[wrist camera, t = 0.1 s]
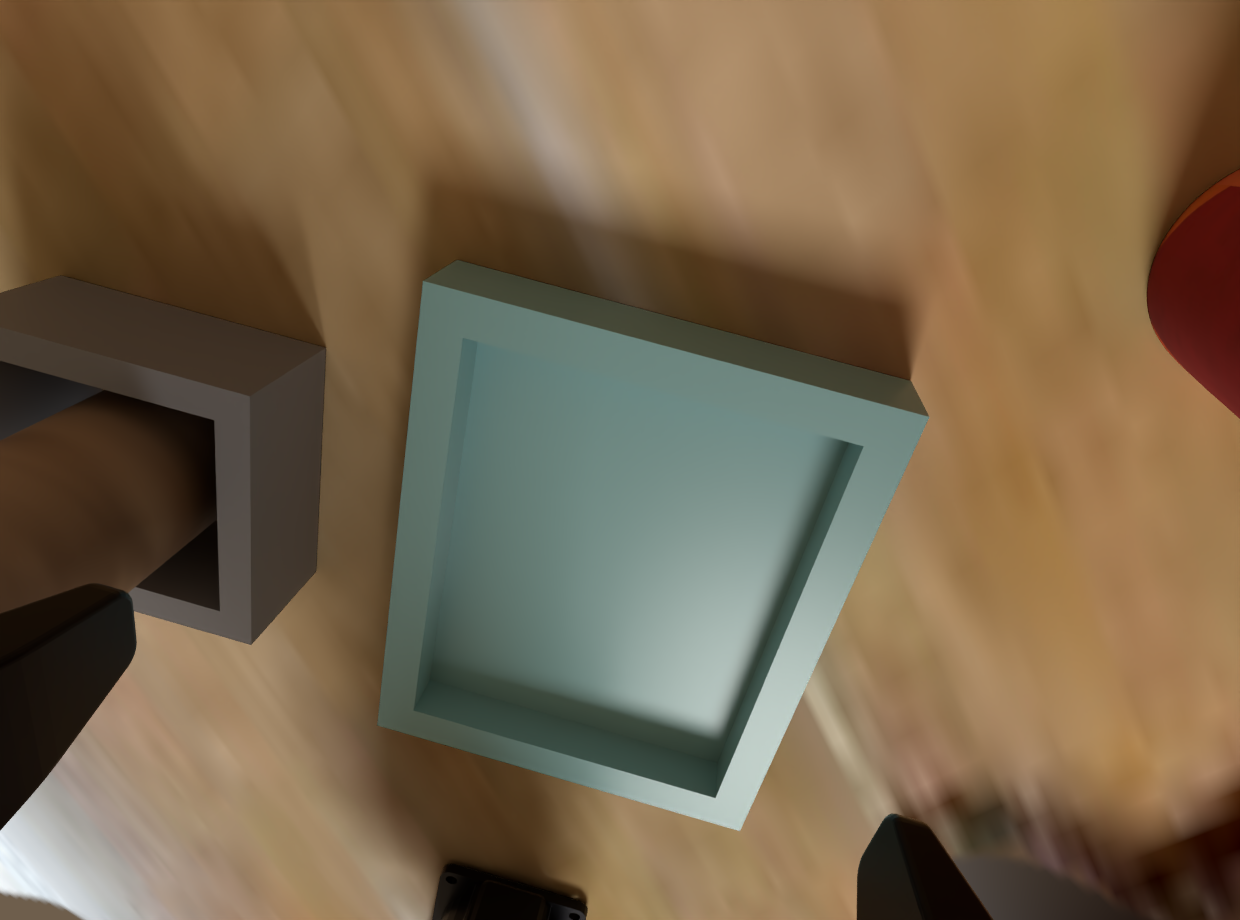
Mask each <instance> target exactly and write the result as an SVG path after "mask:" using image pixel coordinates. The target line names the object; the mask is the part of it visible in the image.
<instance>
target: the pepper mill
mask: <svg viewBox="0 0 1240 920" xmlns="http://www.w3.org/2000/svg"><path fill="white" fill-rule="evenodd" d="M216 520H217V493H216V460H215V426H214V420H212V419H208V418H204V417H201V416H197V415H194V414H190V413H186V412H183V411H179V410H176V409H172V408H168V407H165V406H161V405H158V404H154V403H150V402H147V401H143V400H140V399H136V398H133V397H129V396H125V395H122V394H118V393H115V392H111V391H107V390H103V391H101V392H99V393H97V394H95V395H93V396H91V397H89V398H87V399H85V400H83V401H81V402H79V403H76V404H74V405H72V406H70V407H68V408H66V409H64V410H62V411H60V412H58V413H56V414H54V415H52V416H50V417H48V418H46V419H43V420H41V421H39V422H37V423H35V424H33V425H31V426H29V427H27V428H25V429H23V430H21V431H19V432H17V433H15V434H13V435H11V436H8V437H6V438H4V439H2V440H0V613H2V612H5V611H8V610H11V609H14V608H17V607H20V606H23V605H26V604H29V603H32V602H35V601H38V600H41V599H44V598H47V597H50V596H53V595H56V594H59V593H62V592H65V591H68V590H71V589H74V588H77V587H80V586H83V585H86V584H91V583H99V584H103V585H106V586H110V587H113V588H117V589H120V590H124V591H126V592H127V593H129V592H130V591H131V590H132V589H133V588H135V587H136V586H137V585H138V584H139V583H141V582H142V581H143V580H144V579H146V578H147V577H148V576H149V575H150V574H152V573H153V572H154V571H155V570H156V569H158V568H159V567H160V566H161V565H162V564H164V563H165V562H166V561H167V560H168V559H170V558H171V557H172V556H173V555H175V554H176V553H177V552H178V551H179V550H181V549H182V548H183V547H184V546H185V545H187V544H188V543H189V542H190V541H191V540H193V539H194V538H195V537H196V536H198V535H199V534H200V533H201V532H202V531H204V530H205V529H206V528H207V527H208V526H210V525H211V524H212V523H213V522H214V521H216Z"/></svg>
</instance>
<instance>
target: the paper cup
mask: <svg viewBox="0 0 1240 920" xmlns="http://www.w3.org/2000/svg"><path fill="white" fill-rule="evenodd" d="M1147 306H1148V312H1149V317H1150V321H1151V324H1152V326H1153V329H1154V331H1155V333H1156V335H1157V337H1158V338H1159V340H1160V342H1161V343H1162V344H1163V346H1164V347H1165V349H1166V350H1167V351H1168V352H1169V353H1170V354H1171V355H1172V357H1173V358H1174V359H1175V360H1176V361H1177V362H1178V363H1179V364H1180V365H1181V366H1182V367H1183V368H1184V369H1185V370H1186V371H1188V372H1189V373H1190V374H1191V375H1192V376H1193V377H1194V378H1195V379H1196V380H1197V381H1198V382H1199V383H1200V384H1201V385H1203V386H1204V387H1205V388H1206V389H1207V390H1208V391H1209V392H1210V393H1211V394H1213V395H1214V396H1215V397H1216V398H1217V399H1218V400H1219V401H1220V402H1222V403H1223V404H1224V405H1225V406H1226V407H1227V408H1228V409H1229V410H1231V411H1232V412H1233V413H1234V414H1235V415H1236V416H1237V417H1238V418H1240V169H1239V170H1237V171H1235V172H1233V173H1231V174H1230V175H1228V176H1226V177H1225V178H1223V179H1222V180H1220V181H1219V182H1217V183H1216V184H1214V185H1213V186H1212V187H1210V188H1209V189H1208V190H1206V191H1205V192H1204V193H1203V194H1202V195H1200V196H1199V197H1198V198H1197V199H1196V200H1195V201H1194V202H1193V203H1192V204H1191V205H1190V206H1189V207H1188V208H1187V209H1186V210H1185V211H1184V212H1183V213H1182V214H1181V215H1180V217H1179V218H1178V219H1177V220H1176V222H1175V223H1174V224H1173V226H1172V227H1171V229H1170V230H1169V231H1168V233H1167V235H1166V236H1165V238H1164V240H1163V241H1162V243H1161V245H1160V247H1159V249H1158V251H1157V254H1156V256H1155V258H1154V261H1153V264H1152V267H1151V271H1150V275H1149V280H1148V287H1147Z"/></svg>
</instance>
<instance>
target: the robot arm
mask: <svg viewBox="0 0 1240 920" xmlns="http://www.w3.org/2000/svg"><path fill="white" fill-rule="evenodd" d="M136 643H137V641H136V630H135V620H134V610H133V601H132V598H131V596H130V595H129V593H127V592H126V591H124V590H120V589H117V588H113V587H110V586H106V585H103V584H99V583H91V584H86V585H83V586H80V587H77V588H74V589H71V590H68V591H65V592H62V593H59V594H56V595H53V596H50V597H47V598H44V599H41V600H38V601H35V602H32V603H29V604H26V605H23V606H20V607H17V608H14V609H11V610H8V611H5V612H2V613H0V830H1V829H2V828H3V827H4V826H5V825H6V823H7V822H8V821H9V820H10V819H11V818H12V817H13V816H14V814H15V813H16V812H17V811H18V810H19V809H20V808H21V806H22V805H23V804H24V803H25V802H26V801H27V800H28V799H29V797H30V796H31V795H32V794H33V793H34V791H35V790H36V789H37V788H38V787H39V786H40V784H41V783H42V782H43V781H44V780H45V778H46V777H47V776H48V775H49V773H50V772H51V771H52V769H53V768H54V767H55V766H56V764H57V763H58V762H59V760H60V759H61V758H62V756H63V755H64V754H65V752H66V751H67V749H68V748H69V747H70V745H71V744H72V743H73V741H74V740H75V738H76V737H77V736H78V734H79V733H80V732H81V730H82V729H83V728H84V726H85V725H86V723H87V722H88V721H89V719H90V718H91V717H92V715H93V714H94V712H95V711H96V710H97V708H98V707H99V706H100V704H101V703H102V702H103V700H104V699H105V697H106V696H107V695H108V693H109V692H110V691H111V689H112V688H113V687H114V685H115V684H116V682H117V681H118V680H119V678H120V677H121V676H122V674H123V673H124V671H125V670H126V669H127V667H128V666H129V664H130V663H131V661H132V659H133V657H134V654H135V650H136ZM587 911H588V908H587V906H586V905H585V904H584V903H582V902H580V901H577V900H574V899H570V898H567V897H564V896H560V895H557V894H554V893H550V892H547V891H544V890H540V889H537V888H533V887H530V886H527V885H523V884H520V883H517V882H513V881H510V880H507V879H503V878H500V877H496V876H493V875H490V874H486V873H483V872H480V871H476V870H473V869H469V868H466V867H463V866H459V865H456V864H447V865H445V866H444V868H443V871H442V873H441V876H440V881H439V886H438V892H437V897H436V903H435V908H434V914H433V919H432V920H586V916H587ZM857 920H993V918H992V917H991V915H990V914H989V912H988V911H987V910H986V908H985V907H984V905H983V904H982V902H981V901H980V899H979V898H978V896H977V895H976V893H975V892H974V891H973V889H972V888H971V886H970V885H969V883H968V882H967V880H966V879H965V877H964V876H963V875H962V873H961V872H960V870H959V869H958V867H957V866H956V864H955V863H954V861H953V860H952V858H951V857H950V855H949V854H948V853H947V851H946V850H945V848H944V847H943V845H942V844H941V842H940V841H939V839H938V838H937V836H936V835H935V834H934V832H933V831H932V829H931V828H930V827H929V826H928V825H927V824H925V823H924V822H922V821H919V820H916V819H912V818H909V817H905V816H902V815H898V814H890V815H888V816H886V817H885V819H884V820H883V821H882V823H881V825H880V826H879V828H878V830H877V832H876V833H875V835H874V837H873V838H872V840H871V842H870V843H869V845H868V847H867V849H866V850H865V852H864V854H863V856H862V858H861V861H860V864H859V868H858V875H857Z"/></svg>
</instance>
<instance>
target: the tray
mask: <svg viewBox="0 0 1240 920" xmlns="http://www.w3.org/2000/svg"><path fill="white" fill-rule="evenodd" d="M928 419H929V415H928V413H927V411H926V409H925V407H924V405H923V404H922V402H921V400H920V398H919V396H918V394H917V392H916V390H915V388H914V386H913V384H912V382H911V381H909V380H905V379H901V378H898V377H894V376H890V375H886V374H883V373H879V372H875V371H871V370H868V369H864V368H860V367H856V366H853V365H849V364H845V363H841V362H838V361H834V360H830V359H826V358H823V357H819V356H815V355H811V354H808V353H804V352H800V351H796V350H793V349H789V348H785V347H782V346H778V345H774V344H770V343H767V342H763V341H759V340H755V339H752V338H748V337H744V336H740V335H737V334H733V333H729V332H725V331H722V330H718V329H714V328H710V327H707V326H703V325H699V324H695V323H692V322H688V321H684V320H680V319H677V318H673V317H669V316H665V315H662V314H658V313H654V312H650V311H647V310H643V309H639V308H636V307H632V306H628V305H624V304H621V303H617V302H613V301H609V300H606V299H602V298H598V297H594V296H591V295H587V294H583V293H579V292H576V291H572V290H568V289H564V288H561V287H557V286H553V285H549V284H546V283H542V282H538V281H534V280H531V279H527V278H523V277H519V276H516V275H512V274H508V273H504V272H501V271H497V270H493V269H490V268H486V267H482V266H478V265H475V264H471V263H467V262H463V261H460V260H456V261H454V262H453V263H451V264H449V265H448V266H446V267H445V268H443V269H441V270H440V271H438V272H437V273H435V274H433V275H432V276H430V277H429V278H427V279H425V280H424V281H423V286H422V296H421V305H420V315H419V325H418V335H417V344H416V354H415V364H414V373H413V383H412V393H411V403H410V412H409V422H408V432H407V441H406V451H405V461H404V471H403V480H402V490H401V500H400V509H399V519H398V529H397V539H396V548H395V558H394V568H393V577H392V587H391V597H390V607H389V616H388V626H387V636H386V646H385V655H384V665H383V675H382V684H381V694H380V704H379V714H378V723H377V725H378V726H381V727H385V728H388V729H391V730H395V731H398V732H402V733H405V734H409V735H412V736H415V737H419V738H422V739H426V740H429V741H433V742H436V743H439V744H443V745H446V746H450V747H453V748H457V749H460V750H463V751H467V752H470V753H474V754H477V755H481V756H484V757H487V758H491V759H494V760H498V761H501V762H505V763H508V764H512V765H515V766H518V767H522V768H525V769H529V770H532V771H536V772H539V773H542V774H546V775H549V776H553V777H556V778H560V779H563V780H566V781H570V782H573V783H577V784H580V785H584V786H587V787H590V788H594V789H597V790H601V791H604V792H608V793H611V794H614V795H618V796H621V797H625V798H628V799H632V800H635V801H638V802H642V803H645V804H649V805H652V806H656V807H659V808H662V809H666V810H669V811H673V812H676V813H680V814H683V815H687V816H690V817H693V818H697V819H700V820H704V821H707V822H711V823H714V824H717V825H721V826H724V827H728V828H731V829H735V830H738V831H740V830H741V827H742V825H743V823H744V821H745V819H746V817H747V814H748V812H749V810H750V808H751V806H752V803H753V801H754V799H755V797H756V795H757V792H758V790H759V788H760V786H761V784H762V782H763V779H764V777H765V775H766V773H767V771H768V768H769V766H770V764H771V762H772V760H773V758H774V755H775V753H776V751H777V749H778V747H779V744H780V742H781V740H782V738H783V736H784V733H785V731H786V729H787V727H788V725H789V723H790V720H791V718H792V716H793V714H794V712H795V709H796V707H797V705H798V703H799V701H800V698H801V696H802V694H803V692H804V690H805V688H806V685H807V683H808V681H809V679H810V677H811V674H812V672H813V670H814V668H815V666H816V664H817V661H818V659H819V657H820V655H821V653H822V650H823V648H824V646H825V644H826V642H827V639H828V637H829V635H830V633H831V631H832V629H833V626H834V624H835V622H836V620H837V618H838V615H839V613H840V611H841V609H842V607H843V604H844V602H845V600H846V598H847V596H848V594H849V591H850V589H851V587H852V585H853V583H854V580H855V578H856V576H857V574H858V572H859V570H860V567H861V565H862V563H863V561H864V559H865V556H866V554H867V552H868V550H869V548H870V545H871V543H872V541H873V539H874V537H875V535H876V532H877V530H878V528H879V526H880V524H881V521H882V519H883V517H884V515H885V513H886V510H887V508H888V506H889V504H890V502H891V500H892V497H893V495H894V493H895V491H896V489H897V486H898V484H899V482H900V480H901V478H902V476H903V473H904V471H905V469H906V467H907V465H908V462H909V460H910V458H911V456H912V454H913V451H914V449H915V447H916V445H917V443H918V441H919V438H920V436H921V434H922V432H923V430H924V427H925V425H926V423H927V421H928Z"/></svg>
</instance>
